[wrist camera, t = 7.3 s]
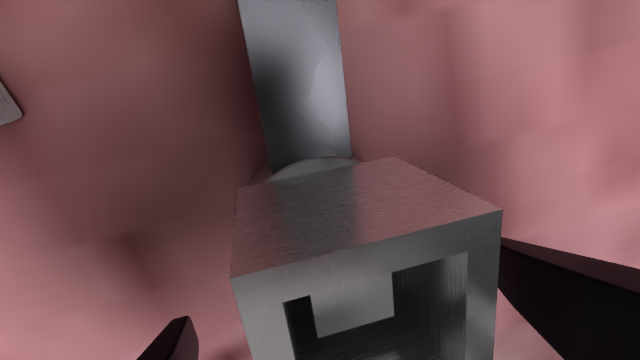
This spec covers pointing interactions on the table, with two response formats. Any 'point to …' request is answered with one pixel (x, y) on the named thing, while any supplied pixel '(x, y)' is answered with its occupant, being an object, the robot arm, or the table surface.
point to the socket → (367, 263)
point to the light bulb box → (8, 107)
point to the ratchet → (307, 126)
